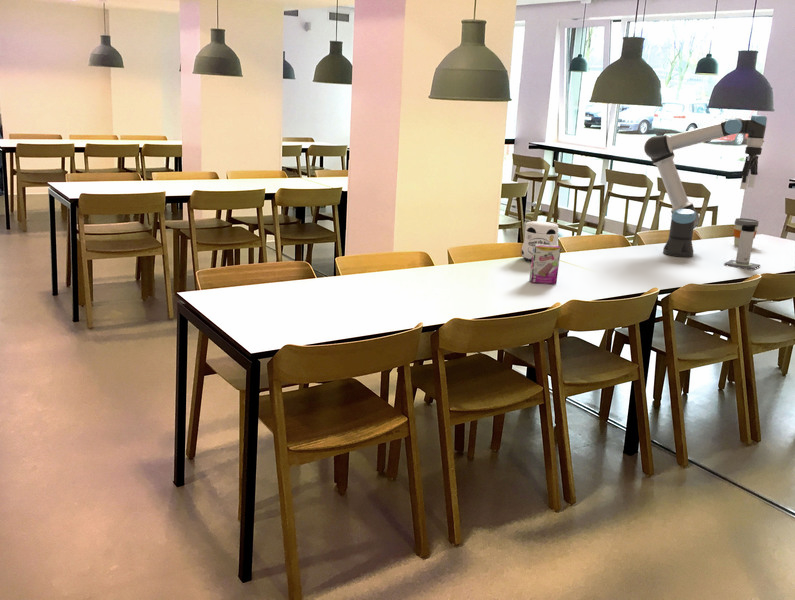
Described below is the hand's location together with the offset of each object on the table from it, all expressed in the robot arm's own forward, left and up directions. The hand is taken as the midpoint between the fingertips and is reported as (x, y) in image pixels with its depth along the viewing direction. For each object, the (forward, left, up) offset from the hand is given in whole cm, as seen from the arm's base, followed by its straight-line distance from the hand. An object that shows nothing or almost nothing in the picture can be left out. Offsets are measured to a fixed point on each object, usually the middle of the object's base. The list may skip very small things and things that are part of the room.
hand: (746, 188), depth 396 cm
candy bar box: (-42, -133, -37) cm, 144 cm away
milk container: (-65, -95, -37) cm, 121 cm away
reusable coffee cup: (-7, +40, -37) cm, 55 cm away
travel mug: (+9, -19, -36) cm, 41 cm away
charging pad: (+9, -19, -37) cm, 42 cm away
